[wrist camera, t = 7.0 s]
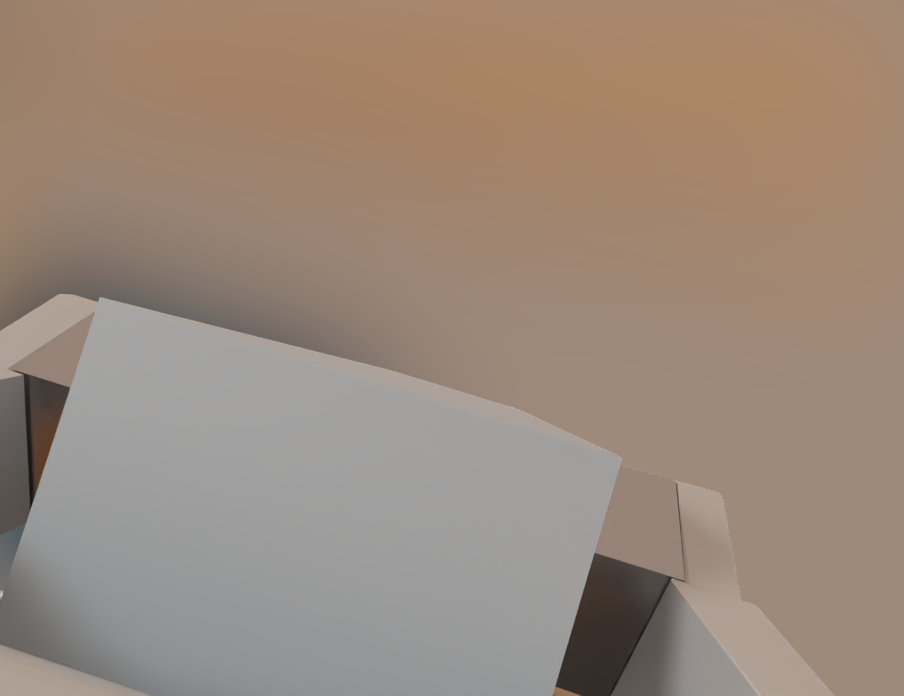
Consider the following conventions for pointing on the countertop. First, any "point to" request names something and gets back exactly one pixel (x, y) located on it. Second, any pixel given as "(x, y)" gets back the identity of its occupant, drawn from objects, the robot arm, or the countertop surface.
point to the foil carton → (298, 525)
